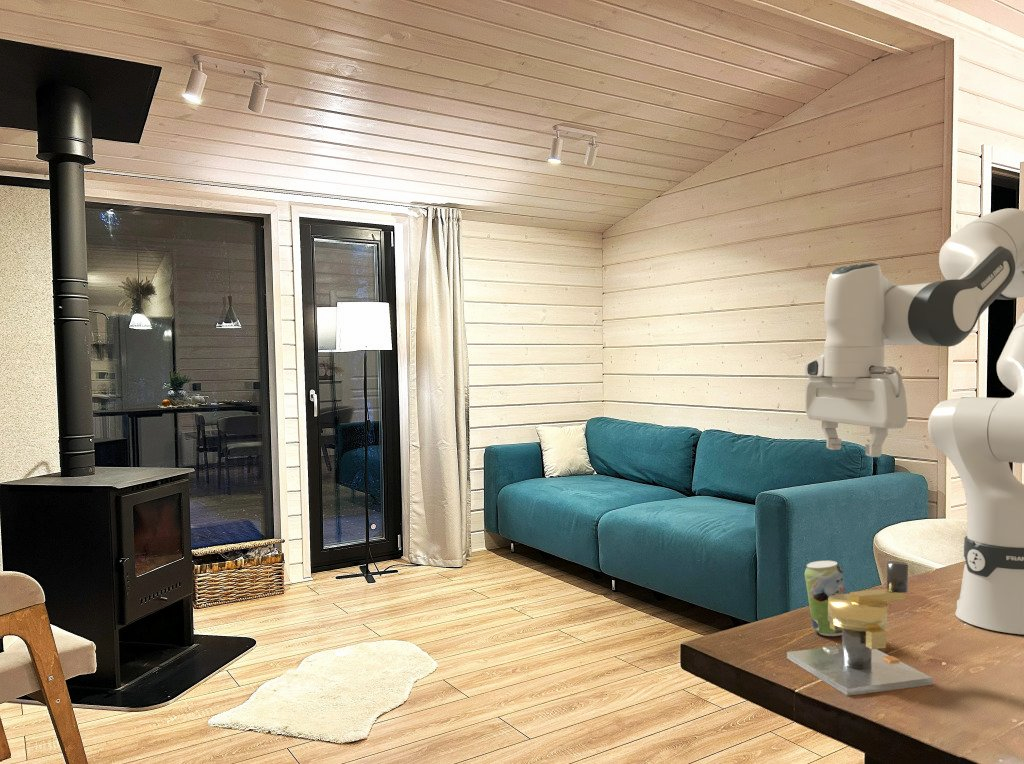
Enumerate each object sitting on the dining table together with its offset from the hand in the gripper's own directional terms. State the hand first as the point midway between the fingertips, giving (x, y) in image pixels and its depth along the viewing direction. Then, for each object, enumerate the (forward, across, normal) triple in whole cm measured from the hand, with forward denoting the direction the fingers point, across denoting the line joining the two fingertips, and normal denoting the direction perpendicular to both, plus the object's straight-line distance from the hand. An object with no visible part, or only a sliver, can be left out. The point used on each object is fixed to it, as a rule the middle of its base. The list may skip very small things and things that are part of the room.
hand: (852, 452), depth 127 cm
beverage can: (+31, +6, 0) cm, 32 cm away
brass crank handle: (+26, -9, +4) cm, 28 cm away
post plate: (+31, -9, +6) cm, 33 cm away
